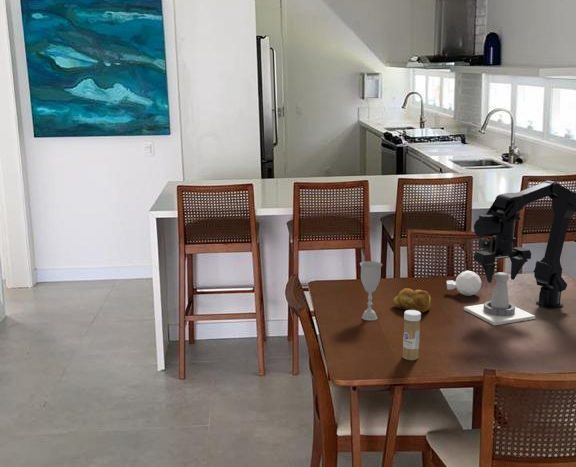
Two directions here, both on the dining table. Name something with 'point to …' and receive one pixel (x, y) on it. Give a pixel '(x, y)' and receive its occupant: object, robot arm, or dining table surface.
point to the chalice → (370, 284)
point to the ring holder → (499, 313)
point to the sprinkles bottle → (411, 334)
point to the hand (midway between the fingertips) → (500, 281)
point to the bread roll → (413, 300)
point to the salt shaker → (500, 292)
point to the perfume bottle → (466, 283)
